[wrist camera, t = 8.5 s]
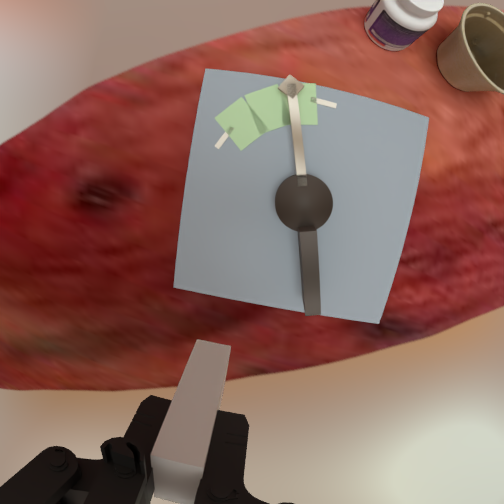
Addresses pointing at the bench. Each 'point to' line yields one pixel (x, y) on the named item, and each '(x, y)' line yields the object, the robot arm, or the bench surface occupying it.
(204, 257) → the tuner board
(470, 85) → the flower pot
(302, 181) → the dark long piece
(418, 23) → the pill bottle
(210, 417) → the robot arm
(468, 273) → the bench surface
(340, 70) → the bench surface
